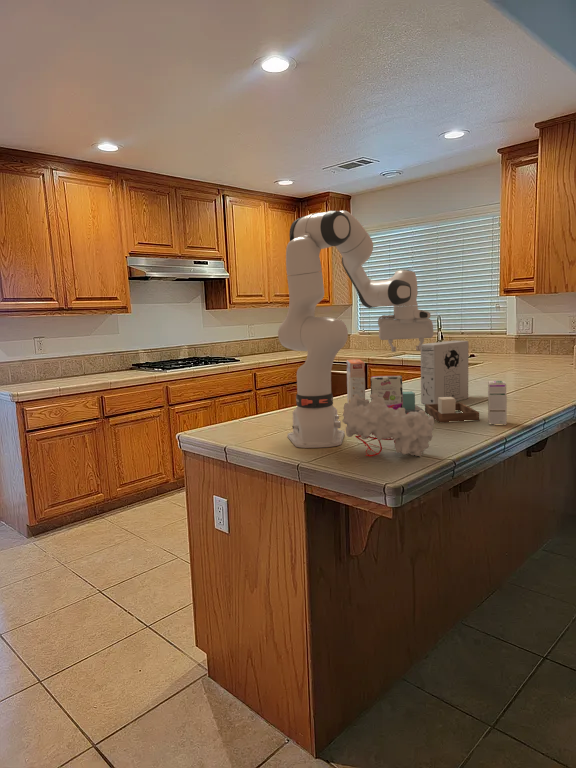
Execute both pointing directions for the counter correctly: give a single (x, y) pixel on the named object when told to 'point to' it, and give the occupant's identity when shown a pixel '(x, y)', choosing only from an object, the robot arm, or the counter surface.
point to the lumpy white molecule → (388, 424)
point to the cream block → (446, 405)
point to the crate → (446, 417)
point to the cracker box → (355, 379)
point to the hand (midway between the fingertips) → (406, 351)
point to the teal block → (409, 400)
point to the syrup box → (497, 402)
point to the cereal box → (444, 371)
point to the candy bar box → (388, 390)
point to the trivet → (413, 409)
